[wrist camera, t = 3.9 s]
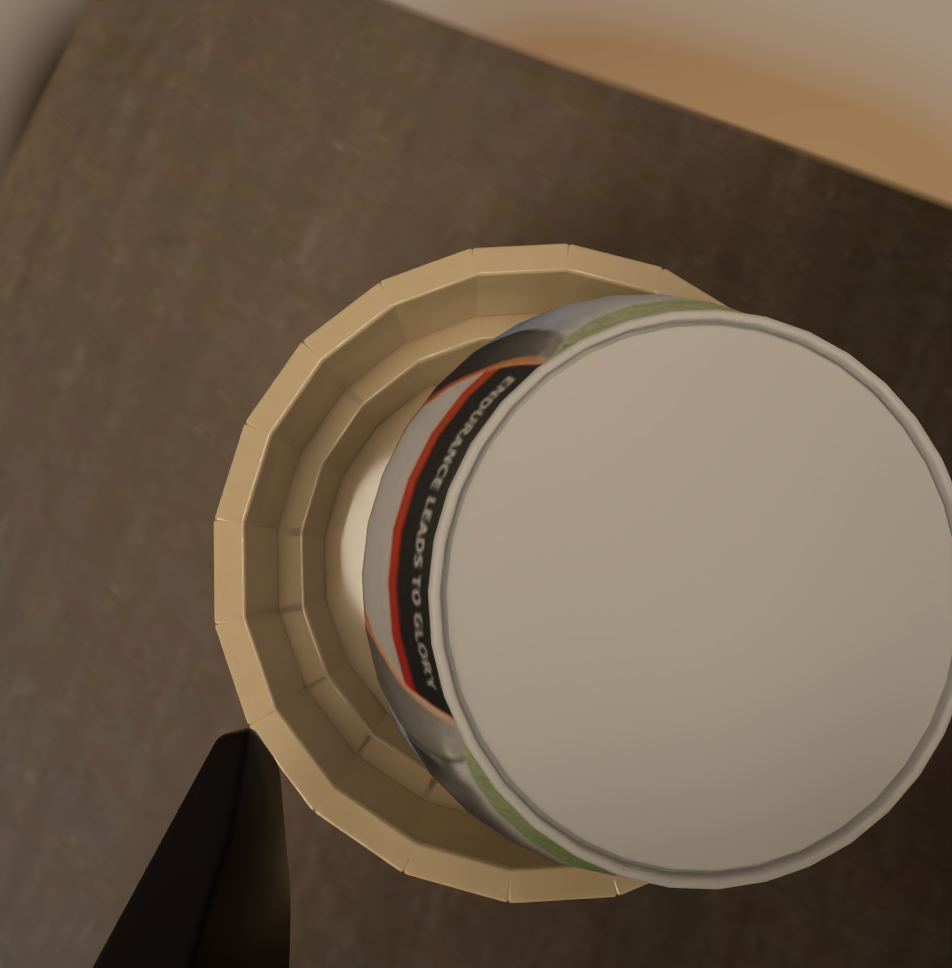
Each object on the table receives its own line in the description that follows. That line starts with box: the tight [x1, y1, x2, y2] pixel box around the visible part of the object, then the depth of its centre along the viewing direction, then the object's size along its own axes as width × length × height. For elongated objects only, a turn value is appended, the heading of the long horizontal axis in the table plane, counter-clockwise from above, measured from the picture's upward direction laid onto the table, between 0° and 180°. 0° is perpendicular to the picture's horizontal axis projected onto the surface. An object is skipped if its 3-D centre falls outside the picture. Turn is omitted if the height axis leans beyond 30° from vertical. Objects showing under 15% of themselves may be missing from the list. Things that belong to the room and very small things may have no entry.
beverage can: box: [362, 294, 952, 889], centre depth 12 cm, size 6×7×12 cm
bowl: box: [214, 244, 729, 903], centre depth 15 cm, size 12×12×5 cm
